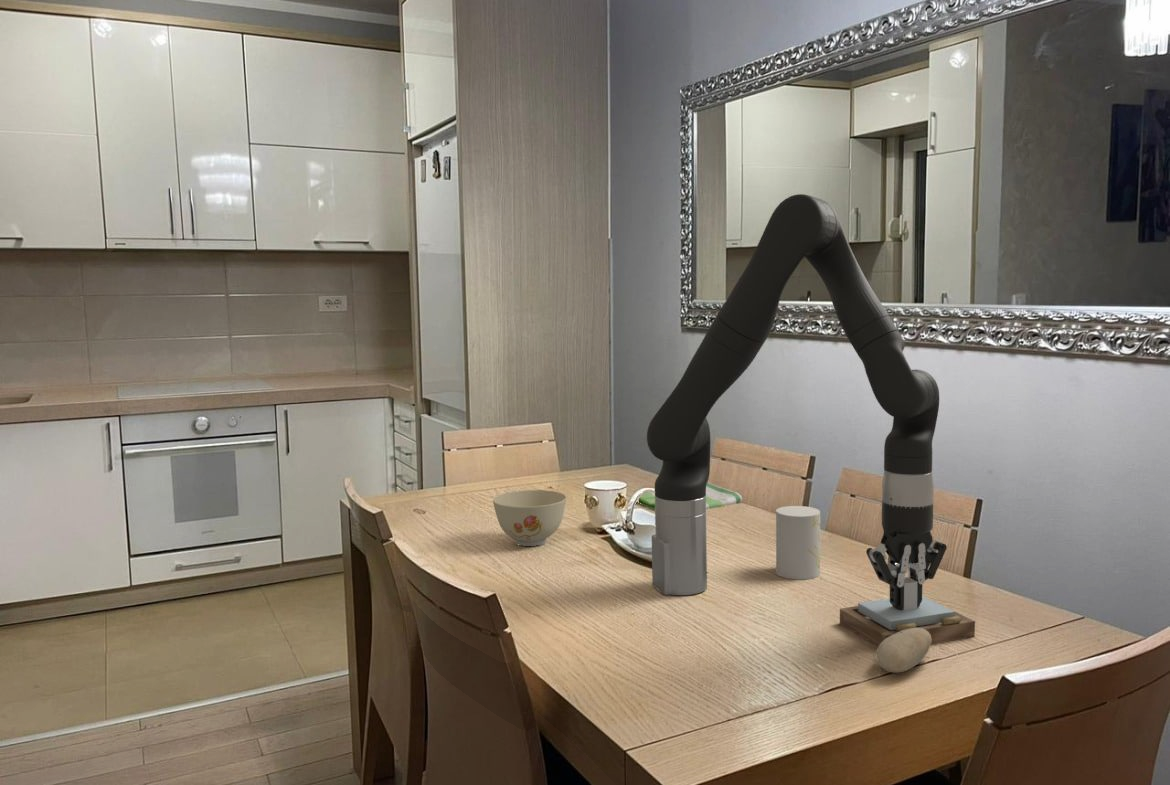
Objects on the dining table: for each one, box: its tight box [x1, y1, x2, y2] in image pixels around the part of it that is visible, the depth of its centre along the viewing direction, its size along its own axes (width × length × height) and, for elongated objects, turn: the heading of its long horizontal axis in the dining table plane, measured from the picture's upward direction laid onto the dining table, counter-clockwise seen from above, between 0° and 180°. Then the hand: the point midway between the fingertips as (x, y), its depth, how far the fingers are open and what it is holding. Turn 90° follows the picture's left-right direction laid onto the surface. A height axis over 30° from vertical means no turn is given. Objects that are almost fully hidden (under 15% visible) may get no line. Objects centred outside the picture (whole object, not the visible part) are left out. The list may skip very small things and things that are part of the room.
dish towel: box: [638, 481, 743, 511], centre depth 227 cm, size 17×23×4 cm
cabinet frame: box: [839, 603, 976, 648], centre depth 140 cm, size 16×12×3 cm
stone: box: [876, 628, 932, 674], centre depth 127 cm, size 6×6×12 cm
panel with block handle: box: [857, 576, 956, 630], centre depth 139 cm, size 12×8×6 cm
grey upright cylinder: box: [775, 505, 821, 580], centre depth 168 cm, size 8×8×12 cm
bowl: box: [492, 489, 567, 547], centre depth 193 cm, size 16×16×10 cm
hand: (905, 606), depth 139 cm, fingers closed on panel with block handle, 2 cm apart
